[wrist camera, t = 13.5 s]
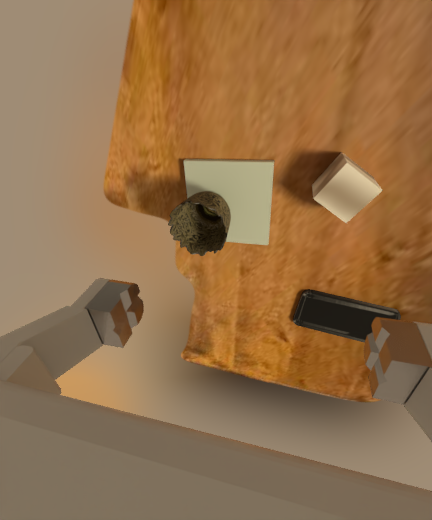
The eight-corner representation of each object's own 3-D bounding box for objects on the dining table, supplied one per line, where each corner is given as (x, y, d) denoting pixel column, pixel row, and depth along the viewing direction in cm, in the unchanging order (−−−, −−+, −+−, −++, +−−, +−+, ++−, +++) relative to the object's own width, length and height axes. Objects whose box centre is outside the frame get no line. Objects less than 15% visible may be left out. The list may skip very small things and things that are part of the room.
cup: (200, 228, 43) (181, 259, 37) (182, 183, 39) (158, 209, 33) (246, 221, 40) (233, 253, 34) (232, 172, 36) (214, 198, 30)
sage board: (186, 158, 39) (183, 160, 38) (274, 160, 36) (273, 162, 35) (193, 235, 45) (191, 238, 44) (268, 241, 42) (268, 245, 42)
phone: (304, 290, 45) (403, 314, 42) (304, 286, 46) (401, 309, 43) (291, 324, 49) (381, 347, 47) (291, 319, 50) (379, 342, 48)
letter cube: (341, 151, 33) (347, 162, 29) (372, 176, 34) (382, 190, 30) (311, 185, 36) (312, 199, 32) (340, 207, 37) (345, 224, 33)
